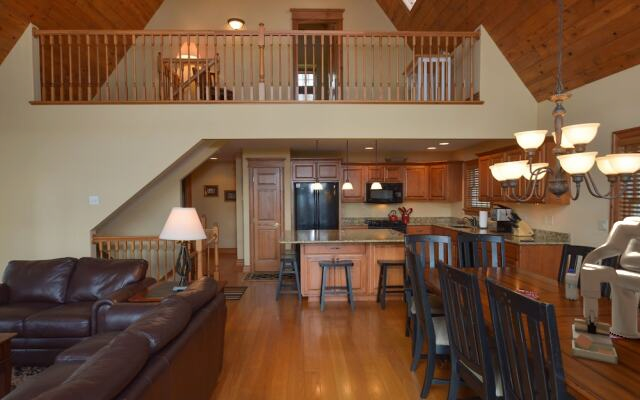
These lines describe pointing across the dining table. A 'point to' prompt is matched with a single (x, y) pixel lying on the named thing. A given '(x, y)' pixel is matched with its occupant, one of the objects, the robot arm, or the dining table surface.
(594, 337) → the bench board
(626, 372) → the dining table surface
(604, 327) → the tan long block
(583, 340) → the tile
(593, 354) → the box
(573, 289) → the bottle
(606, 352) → the tile
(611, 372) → the dining table surface
